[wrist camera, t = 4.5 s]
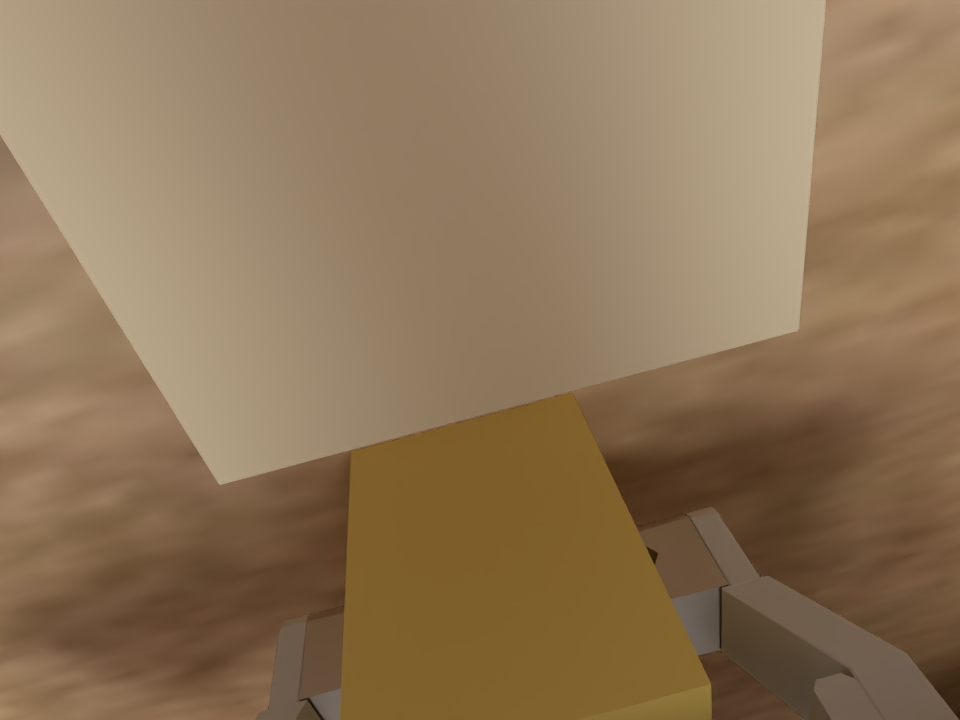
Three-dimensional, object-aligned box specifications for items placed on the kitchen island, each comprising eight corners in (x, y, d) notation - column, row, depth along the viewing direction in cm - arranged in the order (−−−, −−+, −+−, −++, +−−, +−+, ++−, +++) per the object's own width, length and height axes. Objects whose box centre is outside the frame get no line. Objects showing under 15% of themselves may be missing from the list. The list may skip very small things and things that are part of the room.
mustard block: (571, 391, 12) (711, 683, 7) (596, 541, 15) (713, 836, 10) (351, 450, 12) (336, 785, 7) (412, 590, 15) (434, 912, 10)
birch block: (528, -241, 7) (886, -718, 2) (577, 144, 10) (798, 330, 5) (154, -145, 7) (-340, -412, 2) (297, 218, 10) (220, 484, 5)
